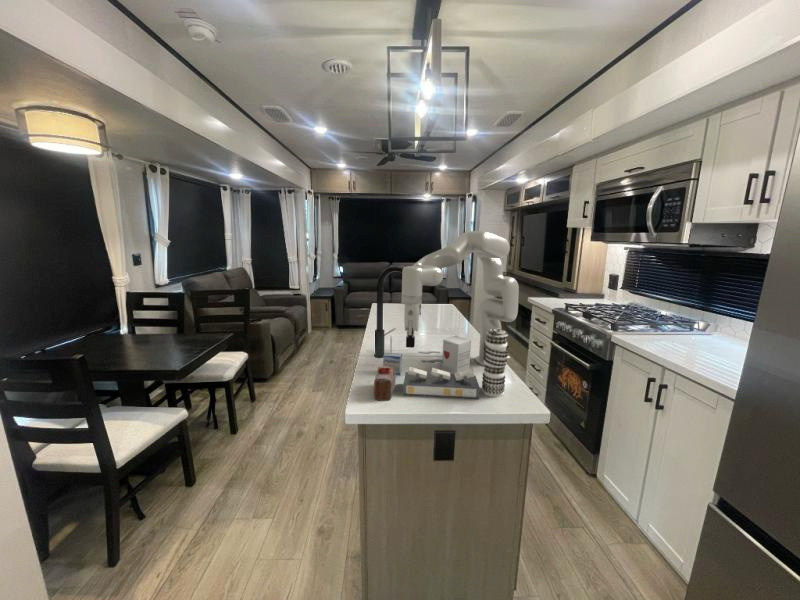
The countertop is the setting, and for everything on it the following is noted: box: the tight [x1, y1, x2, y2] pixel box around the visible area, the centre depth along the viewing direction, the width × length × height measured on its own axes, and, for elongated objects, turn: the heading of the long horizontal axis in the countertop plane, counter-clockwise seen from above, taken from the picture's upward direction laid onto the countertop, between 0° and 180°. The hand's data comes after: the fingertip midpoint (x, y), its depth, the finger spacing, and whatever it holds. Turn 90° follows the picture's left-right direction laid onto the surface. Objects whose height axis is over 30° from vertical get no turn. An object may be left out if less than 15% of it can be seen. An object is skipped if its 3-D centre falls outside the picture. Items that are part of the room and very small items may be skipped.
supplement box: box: [441, 335, 472, 374], centre depth 142 cm, size 9×9×15 cm
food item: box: [373, 365, 397, 401], centre depth 122 cm, size 14×8×10 cm, turn 179°
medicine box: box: [382, 352, 403, 376], centre depth 140 cm, size 8×4×9 cm, turn 82°
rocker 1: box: [407, 366, 428, 379], centre depth 124 cm, size 7×4×2 cm, turn 85°
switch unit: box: [403, 371, 480, 400], centre depth 124 cm, size 28×10×8 cm, turn 85°
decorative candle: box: [481, 328, 510, 398], centre depth 123 cm, size 9×9×25 cm
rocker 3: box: [455, 368, 475, 381], centre depth 123 cm, size 7×4×2 cm, turn 85°
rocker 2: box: [431, 367, 450, 380], centre depth 123 cm, size 7×4×2 cm, turn 85°
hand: (410, 346), depth 122 cm, fingers closed
